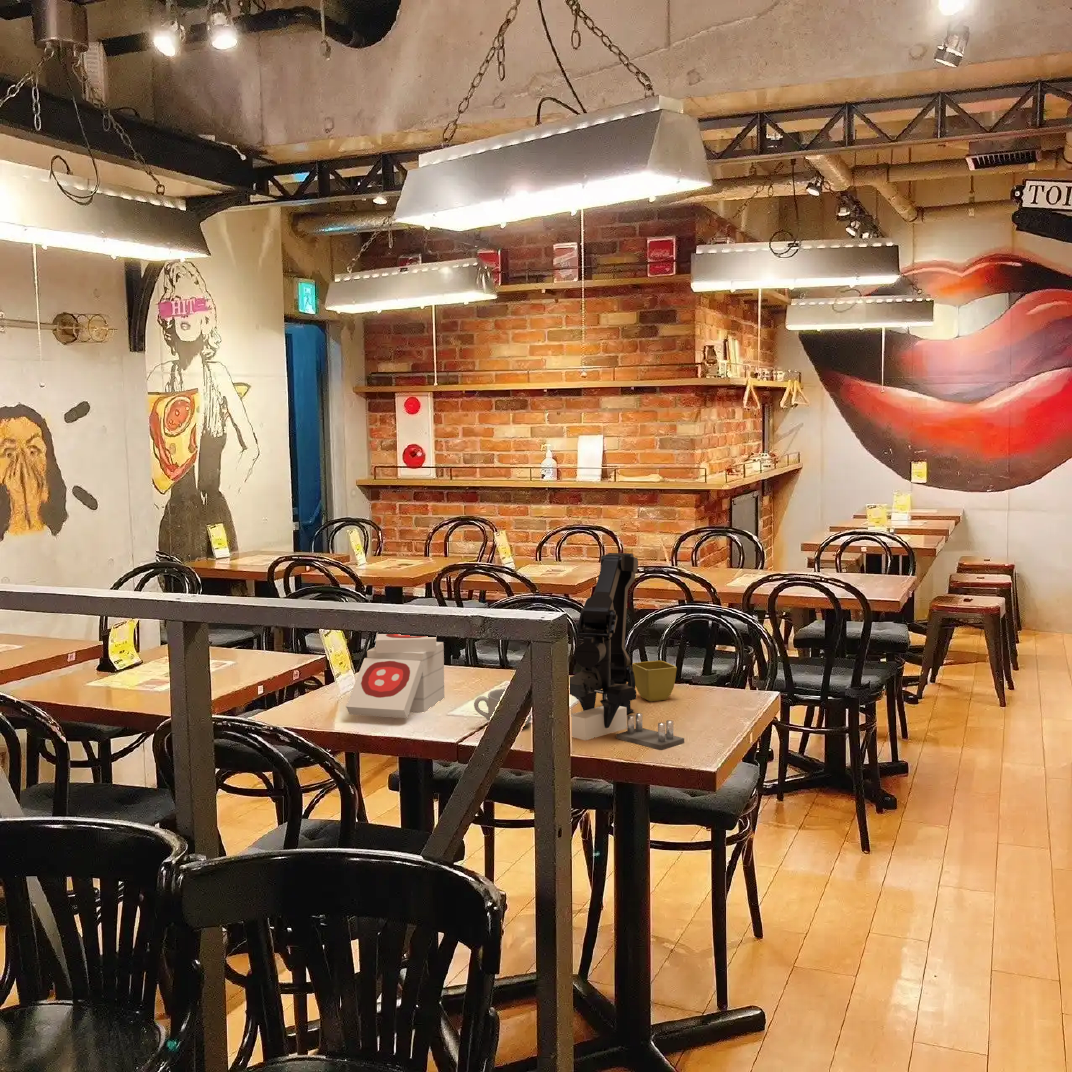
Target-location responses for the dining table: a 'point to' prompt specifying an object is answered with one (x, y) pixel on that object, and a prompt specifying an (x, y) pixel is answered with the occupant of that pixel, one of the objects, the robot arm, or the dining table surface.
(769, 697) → the dining table surface
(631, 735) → the peg stand
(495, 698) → the teacup
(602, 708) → the block
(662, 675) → the flower pot
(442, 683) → the stacked boxes
